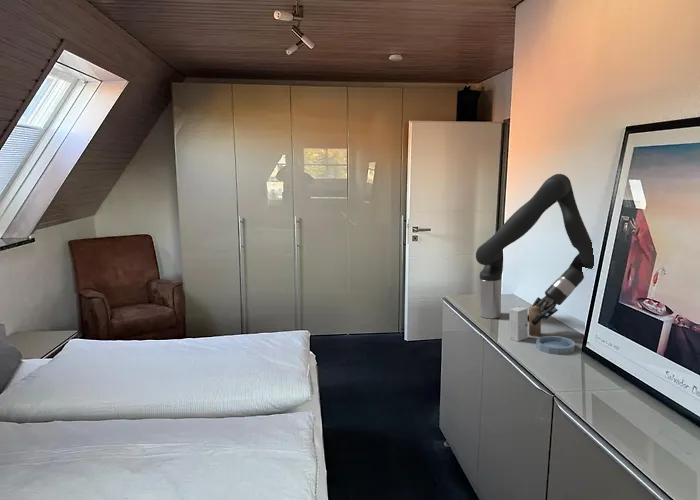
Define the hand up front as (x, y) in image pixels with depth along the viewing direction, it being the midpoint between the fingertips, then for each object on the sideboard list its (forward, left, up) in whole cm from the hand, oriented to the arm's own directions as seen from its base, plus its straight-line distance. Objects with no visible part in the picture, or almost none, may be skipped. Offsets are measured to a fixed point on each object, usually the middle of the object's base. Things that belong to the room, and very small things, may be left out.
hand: (530, 321), depth 196 cm
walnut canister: (0, +2, -5) cm, 6 cm away
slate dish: (+15, +3, -5) cm, 16 cm away
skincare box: (+3, -6, -6) cm, 9 cm away
